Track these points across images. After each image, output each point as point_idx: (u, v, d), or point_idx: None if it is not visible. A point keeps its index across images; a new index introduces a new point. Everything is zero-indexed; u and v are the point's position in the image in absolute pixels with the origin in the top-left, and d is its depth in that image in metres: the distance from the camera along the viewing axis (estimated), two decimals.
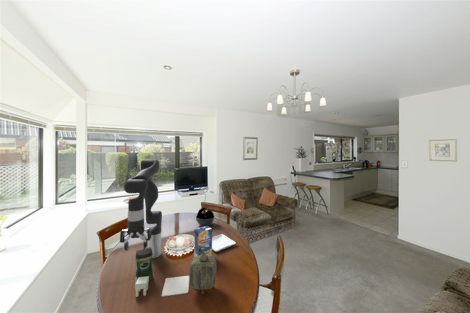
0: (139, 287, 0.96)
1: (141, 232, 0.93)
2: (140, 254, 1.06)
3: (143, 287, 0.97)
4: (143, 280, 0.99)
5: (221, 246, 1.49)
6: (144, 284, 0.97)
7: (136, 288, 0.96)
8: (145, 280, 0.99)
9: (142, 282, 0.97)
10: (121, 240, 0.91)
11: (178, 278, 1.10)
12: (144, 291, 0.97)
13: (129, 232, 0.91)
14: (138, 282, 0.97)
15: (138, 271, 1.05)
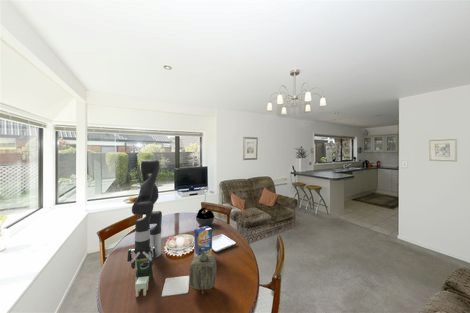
0: (139, 287, 0.96)
1: (147, 251, 0.99)
2: None
3: (143, 287, 0.97)
4: (143, 280, 0.99)
5: (221, 246, 1.49)
6: (144, 284, 0.97)
7: (136, 288, 0.96)
8: (145, 280, 0.99)
9: (142, 282, 0.97)
10: (128, 259, 0.97)
11: (178, 278, 1.10)
12: (144, 291, 0.97)
13: (136, 251, 0.97)
14: (138, 282, 0.97)
15: (138, 271, 1.05)
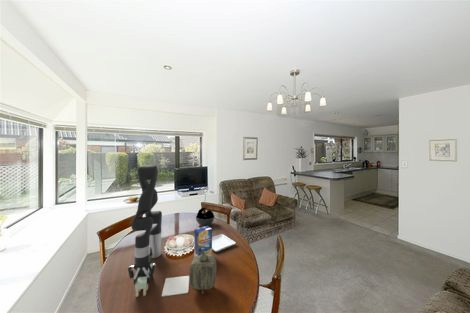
0: (139, 287, 0.96)
1: (147, 267, 0.99)
2: None
3: (143, 287, 0.97)
4: (143, 280, 0.99)
5: (221, 246, 1.49)
6: (144, 284, 0.97)
7: (136, 288, 0.96)
8: (145, 280, 0.99)
9: (142, 282, 0.97)
10: (131, 276, 0.97)
11: (178, 278, 1.10)
12: (144, 291, 0.97)
13: (136, 268, 0.97)
14: (138, 282, 0.97)
15: None
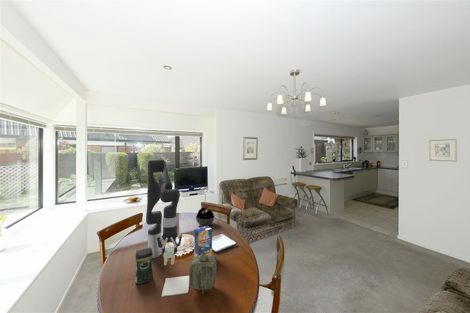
0: (167, 256, 1.00)
1: (174, 238, 1.02)
2: (140, 254, 1.06)
3: (171, 256, 1.01)
4: (170, 250, 1.03)
5: (221, 246, 1.49)
6: (172, 253, 1.01)
7: (164, 257, 1.00)
8: (172, 250, 1.03)
9: (170, 251, 1.01)
10: (160, 245, 1.01)
11: (178, 278, 1.10)
12: (172, 260, 1.01)
13: (164, 238, 1.01)
14: (166, 251, 1.01)
15: (138, 271, 1.05)
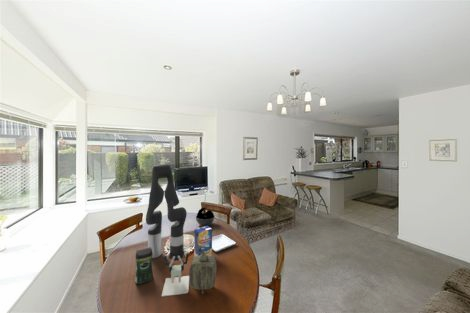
0: (175, 274, 1.02)
1: (181, 256, 1.04)
2: (140, 254, 1.06)
3: (178, 274, 1.02)
4: (178, 268, 1.04)
5: (221, 246, 1.49)
6: (179, 271, 1.02)
7: (172, 275, 1.02)
8: (179, 268, 1.04)
9: (177, 270, 1.03)
10: (167, 264, 1.03)
11: None
12: (179, 278, 1.03)
13: (171, 256, 1.03)
14: (173, 270, 1.03)
15: (138, 271, 1.05)
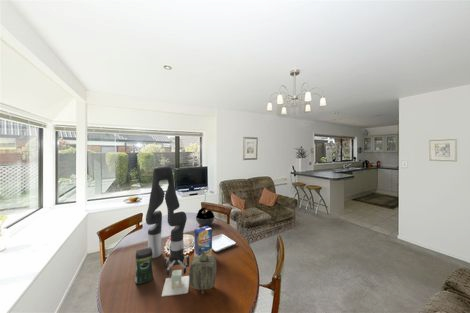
0: (175, 279, 1.02)
1: (181, 259, 1.04)
2: (140, 254, 1.06)
3: (178, 279, 1.02)
4: (178, 273, 1.04)
5: (221, 246, 1.49)
6: (179, 277, 1.02)
7: (172, 280, 1.02)
8: (179, 273, 1.04)
9: (177, 275, 1.03)
10: (164, 267, 1.02)
11: None
12: (179, 283, 1.03)
13: (171, 260, 1.03)
14: (173, 275, 1.03)
15: (138, 271, 1.05)
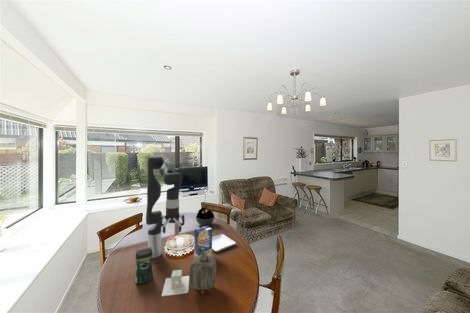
0: (175, 279, 1.02)
1: (177, 218, 1.08)
2: (140, 254, 1.06)
3: (178, 279, 1.02)
4: (178, 273, 1.04)
5: (221, 246, 1.49)
6: (179, 277, 1.02)
7: (172, 280, 1.02)
8: (179, 273, 1.04)
9: (177, 275, 1.03)
10: (160, 224, 1.06)
11: None
12: (179, 283, 1.03)
13: (167, 218, 1.07)
14: (173, 275, 1.03)
15: (138, 271, 1.05)
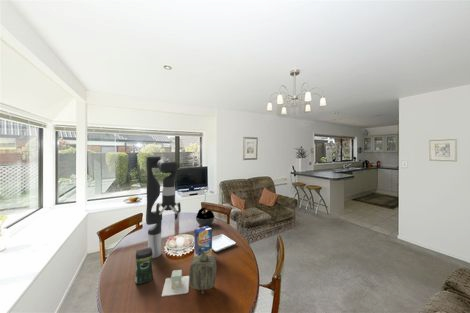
0: (175, 279, 1.02)
1: (173, 205, 1.11)
2: (140, 254, 1.06)
3: (178, 279, 1.02)
4: (178, 273, 1.04)
5: (221, 246, 1.49)
6: (179, 277, 1.02)
7: (172, 280, 1.02)
8: (179, 273, 1.04)
9: (177, 275, 1.03)
10: (157, 212, 1.09)
11: None
12: (179, 283, 1.03)
13: (163, 205, 1.09)
14: (173, 275, 1.03)
15: (138, 271, 1.05)
